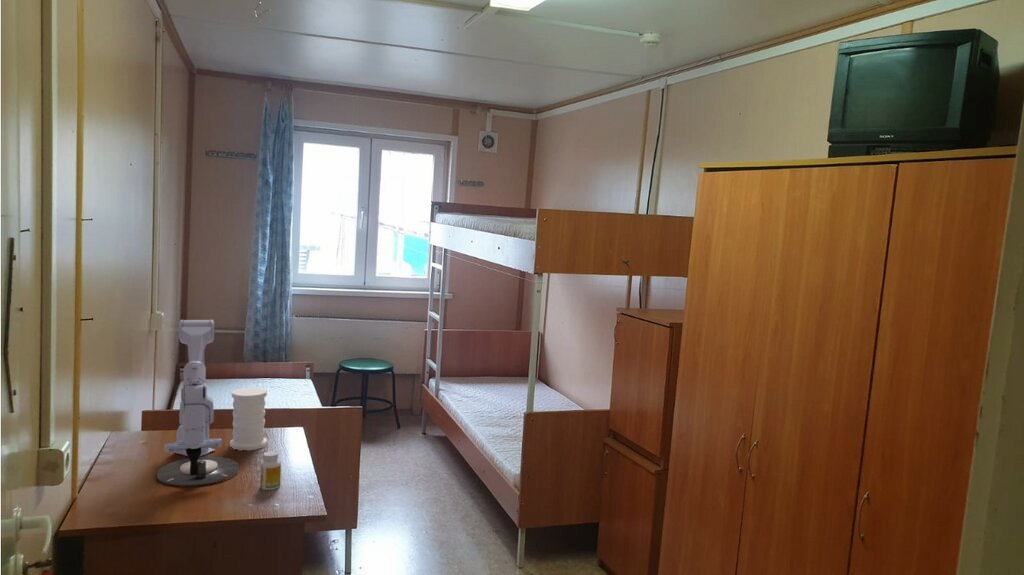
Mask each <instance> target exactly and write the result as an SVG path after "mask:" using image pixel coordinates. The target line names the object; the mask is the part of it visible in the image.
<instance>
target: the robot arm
mask: <svg viewBox="0 0 1024 575" xmlns="http://www.w3.org/2000/svg"><path fill="white" fill-rule="evenodd" d="M178 339H179V342H180V343H181V344H184V345H186V346H187V352H188V362H187V363H186V364H185V366H183V381H182V382H183V384H182V385H183V386H182V387H181V389H180V402H179V414H178V416H179V418H178V419H179V424H180V425H179V426H178V428H177V430H176V435H175V436H176V438H175V439H176V441H175V442H170V443H165V444H164V452H165V453H167V454H168V453H170V452H173V453H174V454H179V455H182V456H187V457H188V458H189V459H190V475H193V474H194V475H196V473H197V471H196V463H197V460H198V458H199V457H203V456H205V455H207V454H211V453H213V452H215V451H216V449H215V447H217V448H222V446H223V442H222V441H223V440H222V438H210V424H212V423H213V422H214V421H215V420H214V415H215V414H214V411H215V410H214V406H215V405H214V400H213V397H211V396H209V395H208V394H207V393H208V388H207V381H206V378H207V377H206V374H207V373H206V371H207V368H206V364H205V348H206V346H208V345H209V344H211V343H213V342H214V339H215V320H213V319H180V320H179V321H178ZM214 450H215V451H214ZM212 451H213V452H212ZM210 452H211V453H210Z"/></svg>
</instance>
